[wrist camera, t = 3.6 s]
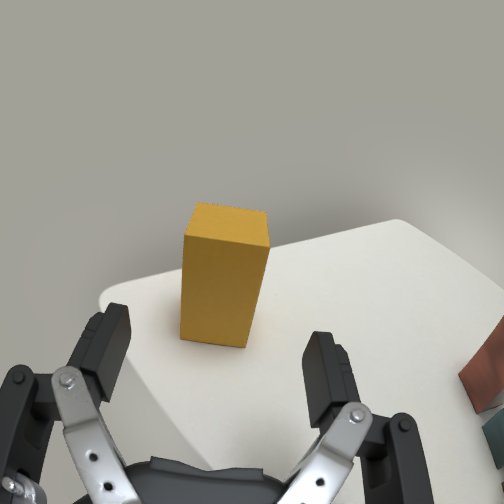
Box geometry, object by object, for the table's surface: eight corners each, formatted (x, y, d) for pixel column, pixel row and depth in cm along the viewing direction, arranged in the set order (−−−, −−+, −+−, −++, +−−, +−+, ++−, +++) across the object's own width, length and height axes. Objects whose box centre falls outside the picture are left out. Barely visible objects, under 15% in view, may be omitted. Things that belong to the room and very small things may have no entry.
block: (245, 347, 22) (270, 246, 17) (180, 339, 21) (184, 234, 17) (246, 305, 26) (266, 211, 21) (189, 297, 25) (197, 201, 21)
